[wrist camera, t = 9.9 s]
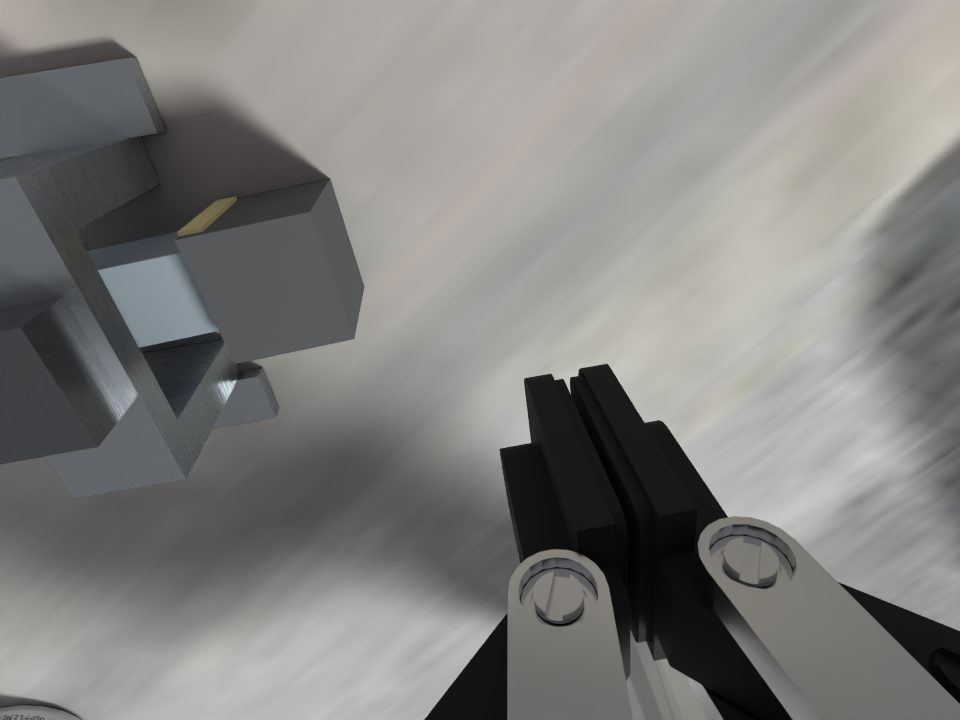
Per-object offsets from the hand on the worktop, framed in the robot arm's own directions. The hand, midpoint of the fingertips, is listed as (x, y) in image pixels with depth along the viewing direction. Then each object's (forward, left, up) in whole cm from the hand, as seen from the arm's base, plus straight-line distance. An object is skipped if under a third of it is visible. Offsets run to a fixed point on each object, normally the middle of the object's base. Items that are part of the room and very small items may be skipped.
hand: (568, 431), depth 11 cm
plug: (+17, 0, -15) cm, 22 cm away
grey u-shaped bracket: (+14, 0, -14) cm, 20 cm away
